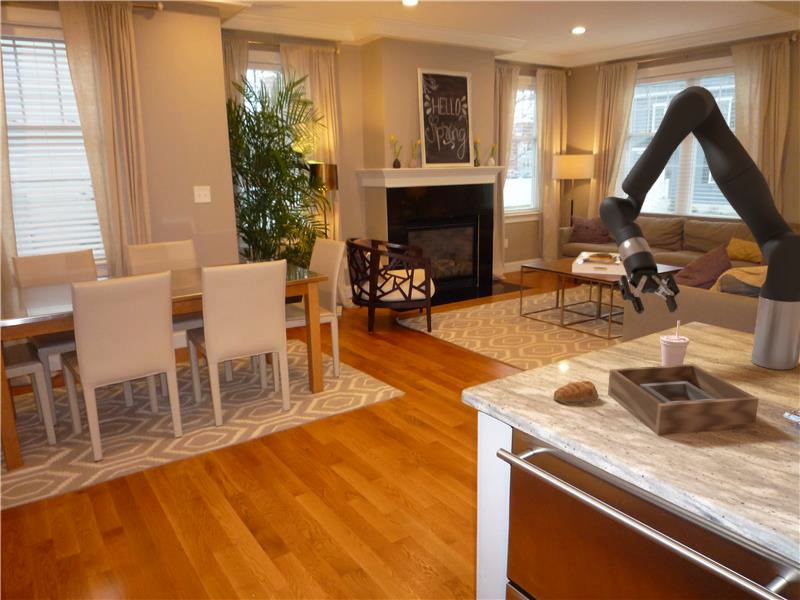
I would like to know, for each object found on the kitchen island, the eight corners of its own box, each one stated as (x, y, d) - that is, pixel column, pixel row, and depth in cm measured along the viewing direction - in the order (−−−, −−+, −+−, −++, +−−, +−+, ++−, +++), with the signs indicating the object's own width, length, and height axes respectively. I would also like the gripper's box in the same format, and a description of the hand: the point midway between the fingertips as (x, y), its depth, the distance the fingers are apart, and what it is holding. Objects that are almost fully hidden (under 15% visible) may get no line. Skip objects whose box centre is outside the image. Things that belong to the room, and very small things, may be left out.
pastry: (564, 408, 123) (565, 392, 122) (546, 397, 129) (546, 381, 128) (601, 402, 126) (602, 385, 125) (581, 391, 132) (582, 375, 131)
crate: (691, 389, 132) (693, 364, 130) (754, 427, 112) (758, 398, 111) (607, 394, 129) (609, 369, 128) (658, 435, 110) (660, 405, 109)
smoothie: (688, 382, 136) (695, 324, 132) (659, 380, 137) (665, 323, 134) (681, 372, 142) (687, 317, 139) (653, 371, 143) (658, 316, 140)
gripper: (617, 251, 148) (637, 305, 140) (669, 249, 150) (692, 302, 141) (606, 267, 155) (624, 320, 146) (656, 266, 156) (677, 318, 148)
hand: (657, 311), depth 144 cm, fingers open, 8 cm apart
